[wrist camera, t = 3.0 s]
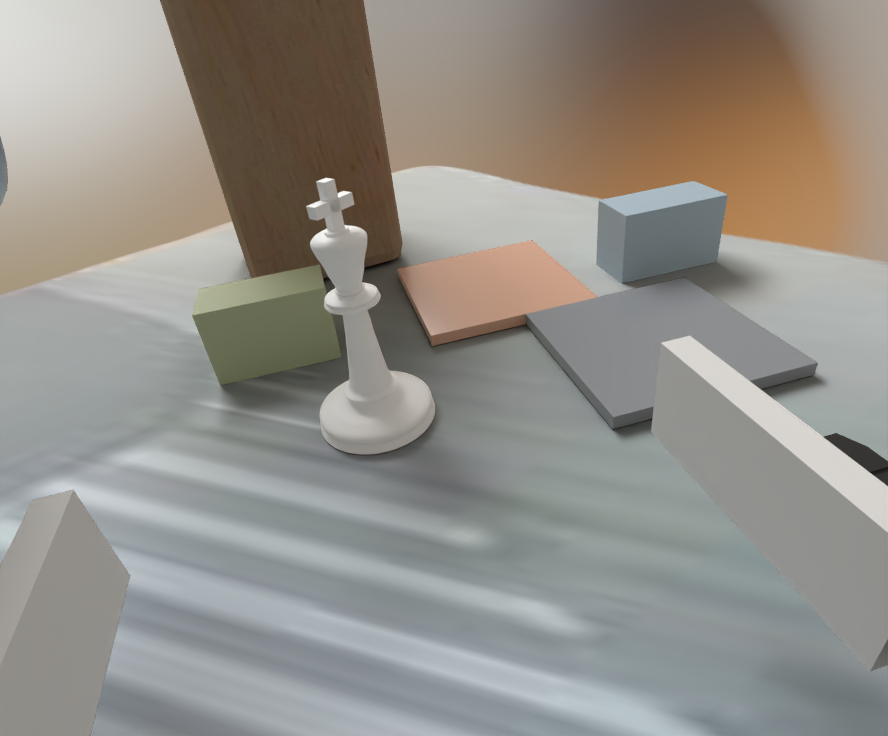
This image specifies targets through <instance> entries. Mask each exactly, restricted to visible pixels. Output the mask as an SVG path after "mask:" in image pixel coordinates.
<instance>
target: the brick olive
mask: <svg viewBox="0 0 888 736" xmlns="http://www.w3.org/2000/svg"><path fill="white" fill-rule="evenodd" d="M326 295H327V292H326V288H325V284H324V280H323V276H322V272H321V268H320V264H319V265H314V266H309V267H305V268H300V269H295V270H290V271H285V272H280V273H275V274H270V275H265V276H260V277H256V278H251V279H246V280H241V281H236V282H231V283H226V284H221V285H216V286H211V287H207V288H202V289H199V291H198V295H197V299H196V303H195V306H194V310H193V314H192V316H193V319H194V321H195V324H196V326H197V329H198V331H199V334H200V336H201V338H202V341H203V343H204V346H205V348H206V351H207V353H208V356H209V358H210V361H211V363H212V366H213V368H214V371H215V373H216V376H217V378H218V381H219V383H220V386H221V385H225V384H229V383H234V382H238V381H242V380H247V379H251V378H255V377H260V376H264V375H268V374H273V373H277V372H281V371H286V370H290V369H294V368H299V367H303V366H307V365H312V364H316V363H320V362H324V361H329V360H333V359H337V358H342V356H341V351H340V346H339V342H338V337H337V332H336V328H335V324H334V320H333V316H332V313H330V312H328V311H327V310H326V309H325V308H324V302H325V301H324V298H325V296H326Z"/></svg>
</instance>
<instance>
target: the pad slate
mask: <svg viewBox="0 0 888 736" xmlns="http://www.w3.org/2000/svg"><path fill="white" fill-rule="evenodd" d="M526 325H527V326H528V327H529V328H530V330H531V331H532V332H533V333H534V334H535V336H536V337H537V338H538V339H539V341H540V342H541V343H542V344H543V345H544V347H545V348H546V349H547V350H548V351H549V353H550V354H551V355H552V356H553V358H554V359H555V360H556V361H557V362H558V364H559V365H560V366H561V367H562V368H563V370H564V371H565V372H566V373H567V374H568V376H569V377H570V378H571V379H572V381H573V382H574V383H575V384H576V385H577V387H578V388H579V389H580V390H581V391H582V393H583V394H584V395H585V396H586V398H587V399H588V400H589V401H590V402H591V404H592V405H593V406H594V407H595V408H596V410H597V411H598V412H599V413H600V415H601V416H602V417H603V418H604V419H605V421H606V422H607V423H608V424H609V425H610V427H611V428H612V429H615V428H619V427H623V426H626V425H630V424H634V423H638V422H641V421H645V420H649V419H652V418H653V410H654V401H655V391H656V382H657V373H658V364H659V355H660V346H661V343H662V342H666V341H670V340H674V339H678V338H682V337H686V336H691V337H692V338H694V339H695V340H696V341H698V342H699V343H700V344H702V345H703V346H704V347H706V348H707V349H708V350H710V351H711V352H712V353H713V354H715V355H716V356H717V357H719V358H720V359H721V360H723V361H724V362H725V363H727V364H728V365H729V366H731V367H732V368H733V369H734V370H736V371H737V372H738V373H740V374H741V375H742V376H744V377H745V378H746V379H748V380H749V381H750V382H752V383H753V384H754V385H755V386H757V387H758V388H759V389H763V388H767V387H771V386H774V385H778V384H782V383H786V382H789V381H793V380H797V379H800V378H804V377H808V376H811V375H814V374H815V370H816V367H817V364H818V362H816V361H815V360H813V359H812V358H810V357H808V356H807V355H805V354H804V353H802V352H801V351H799V350H797V349H796V348H794V347H793V346H791V345H790V344H788V343H786V342H785V341H783V340H782V339H780V338H779V337H777V336H776V335H774V334H772V333H771V332H769V331H768V330H766V329H765V328H763V327H761V326H760V325H758V324H757V323H755V322H754V321H752V320H750V319H749V318H747V317H746V316H744V315H743V314H741V313H739V312H738V311H736V310H735V309H733V308H732V307H730V306H729V305H727V304H725V303H724V302H722V301H721V300H719V299H718V298H716V297H714V296H713V295H711V294H710V293H708V292H707V291H705V290H703V289H702V288H700V287H699V286H697V285H696V284H694V283H692V282H691V281H689V280H688V279H686V278H685V277H683V278H679V279H675V280H670V281H666V282H662V283H657V284H653V285H649V286H644V287H640V288H636V289H631V290H627V291H623V292H618V293H614V294H610V295H605V296H601V297H597V298H592V299H588V300H584V301H579V302H575V303H571V304H566V305H562V306H558V307H553V308H549V309H545V310H540V311H536V312H532V313H527V314H526Z"/></svg>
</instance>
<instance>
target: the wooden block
mask: <svg viewBox="0 0 888 736" xmlns="http://www.w3.org/2000/svg"><path fill="white" fill-rule="evenodd" d="M160 2H161V5H162V8H163V11H164V14H165V17H166V20H167V23H168V26H169V29H170V32H171V36H172V38H173V41H174V45H175V48H176V51H177V54H178V57H179V60H180V63H181V66H182V69H183V72H184V75H185V78H186V81H187V84H188V87H189V90H190V93H191V96H192V100H193V103H194V105H195V109H196V112H197V115H198V118H199V121H200V124H201V127H202V130H203V133H204V136H205V139H206V142H207V145H208V148H209V152H210V155H211V157H212V161H213V163H214V167H215V170H216V173H217V176H218V179H219V182H220V185H221V188H222V191H223V194H224V197H225V200H226V203H227V206H228V210H229V213H230V215H231V218H232V222H233V225H234V228H235V231H236V234H237V237H238V240H239V243H240V246H241V249H242V252H243V255H244V258H245V260H246V263H247V266H248V269H249V272H250V275H251V278H256V277H260V276H265V275H270V274H275V273H280V272H285V271H290V270H295V269H300V268H305V267H309V266H314V265H319V264H320V268H321V272H322V276H323V278H327V277H328V275H327V273H326V271H325V269H324V268H323V266H322V265H321V263H320V262H319V260H318V259H317V258H316V256H315V255H314V253H313V251H312V249H311V247H310V242H311V240H312V238H313V237H314V236H315V235H316V234H318V233H319V232H321V231H323V230H325V229H326V228H327V226H326V222H325V218H323V219H320V220H318V221H317V220H312V219H309V216H308V212H307V208H306V206H308V205H310V204H313V203H315V202H318V201H320V196H319V192H318V188H317V184H316V181H319V180H322V179H324V178H331V179H335V184H336V188H337V193H339V192H342V191H348V192H352V195H353V200H354V205H352V206H350V207H348V208H345V209H343V210H341V212H342V216H343V221H344V225H347V226H356V227H359V228H361V229H363V230H364V231H365V232H366V233H367V249H366V253H365V260H364V267H368V266H371V265H375V264H379V263H383V262H386V261H390V260H394V259H395V258H397V257H398V256H400V255H401V249H402V237H401V231H400V225H399V219H398V212H397V206H396V200H395V194H394V188H393V181H392V175H391V169H390V163H389V157H388V150H387V144H386V138H385V132H384V125H383V119H382V113H381V107H380V101H379V95H378V88H377V82H376V77H375V69H374V63H373V58H372V51H371V45H370V38H369V33H368V26H367V20H366V14H365V7H364V1H363V0H160Z"/></svg>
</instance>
